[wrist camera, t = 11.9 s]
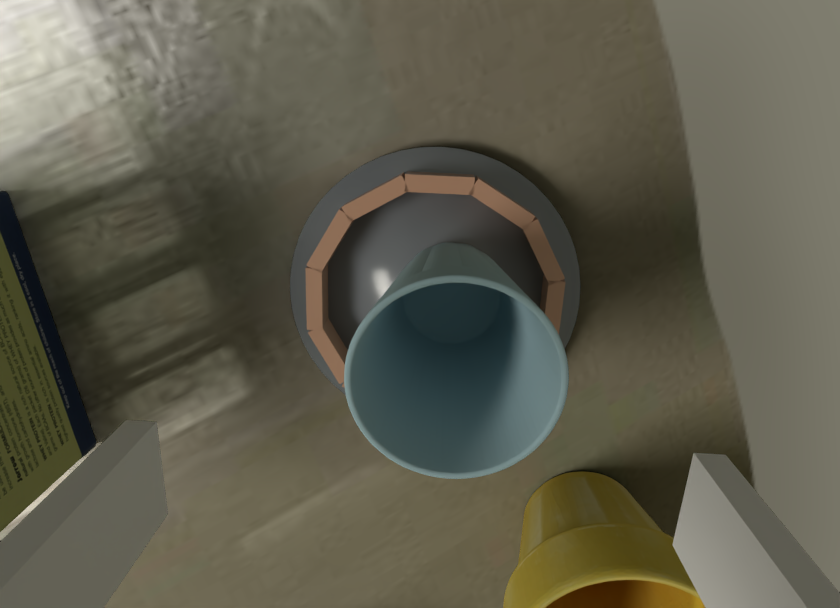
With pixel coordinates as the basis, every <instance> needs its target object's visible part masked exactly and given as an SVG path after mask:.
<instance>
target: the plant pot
mask: <svg viewBox="0 0 840 608" xmlns="http://www.w3.org/2000/svg"><path fill="white" fill-rule="evenodd" d="M673 540H674V538H673V537H671V536H670V535H667V534H665V533H663V531H662V530H661V529H660V528H659V527H658V526H657V524H656V523H655V522H654V521H653V520H652V519H651V517H650V516H649V515H648V514H647V513H646V512H645V511H644V509H643V508H642V507H641V506H640V505H639V504H638V502H637V501H636V500H635V499H634V498H633V497H632V495H631V494H630V493H629V492H628V491H627V490H626V489H625V487H623V486H622V485H621V484H620V483H618V482H617V481H615V480H614V479H612V478H610V477H608V476H605V475H602V474H599V473H594V472H584V471H580V472H570V473H564V474H562V475H559V476H556V477H554V478H552V479H550V480H548V481H547V482H545V483H544V484H543V485H542V486H540V487H539V488H538V489H537V490H536V491H535V492H534V494H533V495H532V496H531V498H530V499H529V501H528V504H527V506H526V509H525V513H524V520H523V530H522V538H521V546H520V555H519V563H518V566H517V567H516V569H515V570H514V572H513V574H512V576H511V578H510V580H509V582H508V585H507V588H506V592H505V597H504V608H705V606H704V604H703V602H702V600H701V598H700V596H699V595H698V593H697V591H696V589H695V587H694V585H693V583H692V581H691V579H690V578H689V576H688V574H687V572H686V570H685V568H684V566H683V564H682V562H681V561H680V559H679V557H678V555H677V553H676V551H675V549H674V547H673V545H672V544H673Z"/></svg>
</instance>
